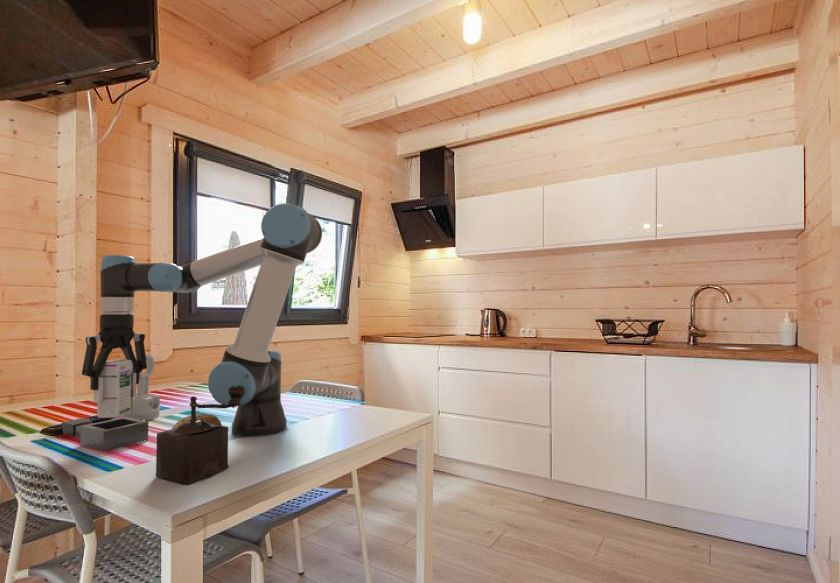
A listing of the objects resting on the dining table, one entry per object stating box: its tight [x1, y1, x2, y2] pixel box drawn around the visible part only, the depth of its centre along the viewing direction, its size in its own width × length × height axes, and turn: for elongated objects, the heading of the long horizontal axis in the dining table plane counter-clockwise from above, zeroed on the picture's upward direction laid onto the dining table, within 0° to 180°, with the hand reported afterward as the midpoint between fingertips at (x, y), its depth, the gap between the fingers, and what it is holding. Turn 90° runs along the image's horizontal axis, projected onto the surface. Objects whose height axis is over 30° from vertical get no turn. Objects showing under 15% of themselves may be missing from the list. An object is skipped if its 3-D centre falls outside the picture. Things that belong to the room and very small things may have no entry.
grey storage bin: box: [61, 416, 149, 453], centre depth 122 cm, size 28×11×5 cm, turn 61°
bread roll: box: [171, 413, 223, 429], centre depth 116 cm, size 10×15×8 cm, turn 156°
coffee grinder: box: [155, 385, 246, 486], centre depth 99 cm, size 16×11×18 cm
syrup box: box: [96, 358, 134, 419], centre depth 118 cm, size 6×6×14 cm
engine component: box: [122, 353, 161, 421], centre depth 145 cm, size 11×20×10 cm
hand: (115, 399), depth 118 cm, fingers closed on syrup box, 8 cm apart
